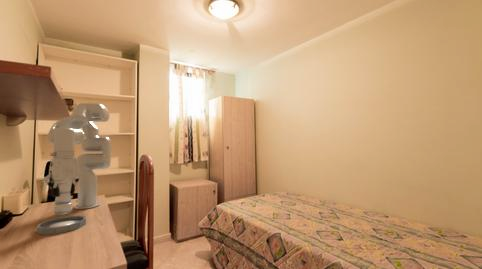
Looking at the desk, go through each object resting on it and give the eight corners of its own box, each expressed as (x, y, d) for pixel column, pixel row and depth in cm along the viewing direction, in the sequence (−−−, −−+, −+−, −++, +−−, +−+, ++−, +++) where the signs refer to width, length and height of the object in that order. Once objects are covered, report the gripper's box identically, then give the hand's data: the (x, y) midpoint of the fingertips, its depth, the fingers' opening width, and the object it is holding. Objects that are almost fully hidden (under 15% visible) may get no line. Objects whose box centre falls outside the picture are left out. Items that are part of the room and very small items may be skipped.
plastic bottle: (73, 214, 102) (74, 169, 103) (53, 217, 98) (54, 170, 99) (71, 211, 107) (72, 168, 108) (52, 214, 103) (53, 169, 104)
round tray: (28, 231, 98) (28, 225, 98) (71, 219, 113) (71, 214, 114) (51, 236, 91) (51, 230, 91) (94, 223, 106) (94, 217, 107)
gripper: (46, 155, 94) (45, 200, 93) (88, 154, 110) (88, 192, 109) (36, 156, 97) (35, 198, 96) (79, 154, 113) (78, 191, 112)
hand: (63, 194), depth 103 cm, fingers closed on plastic bottle, 6 cm apart
